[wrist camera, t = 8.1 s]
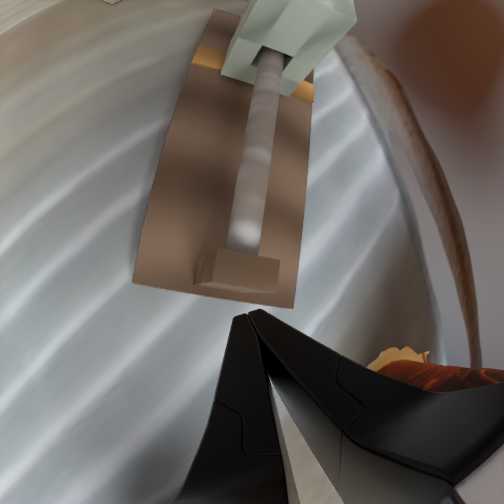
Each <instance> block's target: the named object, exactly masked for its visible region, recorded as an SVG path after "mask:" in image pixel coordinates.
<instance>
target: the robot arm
mask: <svg viewBox="0 0 504 504" xmlns="http://www.w3.org/2000/svg"><path fill="white" fill-rule="evenodd" d="M269 377H270V379H269ZM270 380H271V382H272V384H273V385H274V387H275V389H276V391H277V393H278V394H279V396H280V398H281V400H282V401H283V403H284V405H285V407H286V408H287V410H288V412H289V413H290V415H291V417H292V419H293V420H294V422H295V424H296V425H297V427H298V429H299V430H300V432H301V434H302V435H303V437H304V439H305V440H306V442H307V444H308V445H309V447H310V449H311V450H312V452H313V454H314V455H315V457H316V459H317V460H318V462H319V463H320V465H321V467H322V468H323V470H324V471H325V473H326V475H327V476H328V478H329V479H330V481H331V483H332V484H333V486H334V487H335V489H336V490H337V492H338V494H339V495H340V497H341V498H342V500H343V501H344V503H345V504H504V382H500V383H496V384H491V385H487V386H482V387H476V388H471V389H466V390H460V391H454V392H433V391H428V390H424V389H421V388H418V387H415V386H413V385H410V384H407V383H404V382H402V381H399V380H396V379H393V378H391V377H388V376H385V375H383V374H380V373H378V372H376V371H373V370H371V369H368V368H366V367H364V366H362V365H360V364H358V363H356V362H354V361H352V360H350V359H348V358H347V357H345V356H343V355H340V354H339V353H337V352H336V351H334V350H332V349H330V348H328V347H327V346H325V345H323V344H321V343H319V342H318V341H316V340H314V339H312V338H311V337H309V336H307V335H305V334H304V333H302V332H300V331H298V330H297V329H295V328H293V327H291V326H290V325H288V324H286V323H285V322H283V321H281V320H279V319H278V318H276V317H274V316H273V315H271V314H269V313H267V312H266V311H264V310H262V309H257V310H254V311H251V312H249V313H248V315H247V314H241V315H238V316H235V317H234V318H233V321H232V325H231V329H230V333H229V337H228V341H227V346H226V350H225V354H224V358H223V362H222V366H221V371H220V375H219V379H218V383H217V387H216V391H215V396H214V401H213V403H212V408H211V412H210V415H209V419H208V422H207V426H206V429H205V432H204V434H203V437H202V440H201V443H200V445H199V448H198V450H197V452H196V455H195V457H194V460H193V462H192V464H191V467H190V469H189V472H188V474H187V476H186V479H185V481H184V483H183V485H182V487H181V489H180V491H179V492H178V494H177V495H176V497H175V498H174V499H173V500H172V501H171V502H170V503H169V504H300V501H299V497H298V493H297V489H296V485H295V481H294V477H293V473H292V469H291V465H290V461H289V457H288V453H287V448H286V444H285V440H284V436H283V432H282V428H281V424H280V419H279V415H278V411H277V407H276V403H275V398H274V394H273V390H272V386H271V382H270Z"/></svg>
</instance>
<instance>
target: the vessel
mask: <svg viewBox="0 0 504 504" xmlns="http://www.w3.org/2000/svg"><path fill="white" fill-rule="evenodd" d="M428 354H429V351H426V352H423V353H420V354H417V353H415V352H414V351H413V350H412V349H411V348H409V347H408V346H406V347H404V348H403V349H401V350H399V349H398V348H393V347H390V348H389V349H387V350H386V351H383V352H381V353H380V354H379V356H378V358H377V359H376V360H374V361H373V362H371V363H370V364H369V365H368V366H367V368H368V369H371V370H373V371H376V372H378V373H380V374H383V375H385V376H388V377H391V378H393V379H396V380H399V381H402V382H404V383H407V384H410V385H413V386H415V387H418V388H421V389H424V390H428V391H433V392H454V391H460V390H466V389H471V388H476V387H482V386H487V385H491V384H496V383H500V382H504V370H498V369H490V368H482V369H472V368H464V367H457V366H443V365H435V364H429V363H428V362H427V355H428Z"/></svg>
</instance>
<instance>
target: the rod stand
mask: <svg viewBox="0 0 504 504" xmlns="http://www.w3.org/2000/svg"><path fill="white" fill-rule="evenodd" d="M250 1H251V0H248V2H247V4H246V6H245V8H244V10H243V12H242V14H241V16H238V15H234V14H231V13H228V12H224V11H221V10H217V9H214V11H213V13H212V15H211V17H210V19H209V22H208V24H207V26H206V29H205V31H204V33H203V36H202V38H201V40H200V43H199V45H198V47H197V50H196V52H195V55H194V57H193V60H192V63H191V65H190V68H189V71H188V73H187V76H186V79H185V82H184V84H183V87H182V90H181V93H180V96H179V99H178V101H177V104H176V107H175V110H174V113H173V117H172V120H171V123H170V126H169V129H168V132H167V136H166V139H165V142H164V146H163V149H162V153H161V156H160V160H159V163H158V167H157V171H156V174H155V178H154V182H153V186H152V190H151V194H150V198H149V202H148V206H147V210H146V215H145V219H144V224H143V228H142V233H141V238H140V243H139V248H138V253H137V258H136V263H135V269H134V274H133V280H132V283H135V284H140V285H145V286H150V287H155V288H161V289H166V290H172V291H177V292H183V293H189V294H195V295H201V296H207V297H213V298H219V299H225V300H232V301H238V302H245V303H252V304H258V305H265V306H273V307H280V308H291V309H293V307H294V299H295V291H296V283H297V275H298V266H299V257H300V248H301V239H302V229H303V219H304V208H305V197H306V185H307V173H308V160H309V146H310V131H311V114H312V103H313V98H314V85H313V71H314V69H313V70H312V71H311V72H310V73H309V74H308V75H307V76H306V78H305V79H304V80H303V81H302V82H301V83H300V84H299V86H298V87H297V88H296V89H295V90H294V91H293V93H292V94H291V95H290V96H289V97H287V96H284V95H281V94H280V86H281V78H282V70H283V62H284V54H285V53H282V52H280V51H277V50H274V49H272V48H269V47H266V46H263V45H262V49H261V54H260V59H259V64H258V69H257V74H256V79H255V84H254V85H253V84H250V83H247V82H244V81H240V80H237V79H234V78H231V77H227V76H224V75H220V74H221V71H222V67H223V64H224V61H225V57H226V54H227V51H228V48H229V44H230V41H231V39H232V37H233V35H234V33H235V31H236V29H237V27H238V25H239V23H240V21H241V19H242V17H243V15H244V13H245V11H246V9H247V7H248V5H249V3H250Z"/></svg>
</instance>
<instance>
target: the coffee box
mask: <svg viewBox="0 0 504 504" xmlns="http://www.w3.org/2000/svg"><path fill="white" fill-rule="evenodd" d="M104 1H106V2H108V3H110V4H114V3H116V2H119V1H121V0H104Z"/></svg>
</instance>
